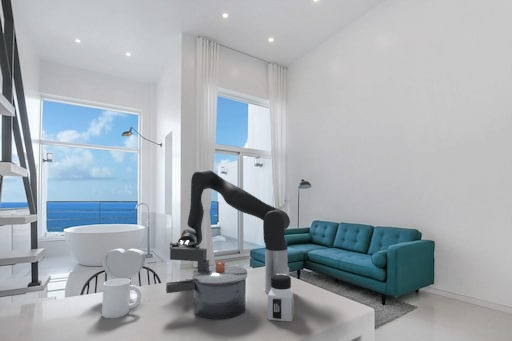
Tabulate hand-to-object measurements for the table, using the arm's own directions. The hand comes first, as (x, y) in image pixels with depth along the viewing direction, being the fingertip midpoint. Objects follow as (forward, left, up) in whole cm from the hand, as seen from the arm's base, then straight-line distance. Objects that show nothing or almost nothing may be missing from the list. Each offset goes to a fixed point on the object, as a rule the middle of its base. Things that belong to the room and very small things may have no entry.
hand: (181, 249), depth 112 cm
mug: (+22, +2, -18) cm, 28 cm away
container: (-17, +38, -18) cm, 45 cm away
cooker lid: (-2, +16, -7) cm, 17 cm away
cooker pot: (-1, +18, -18) cm, 25 cm away
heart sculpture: (+17, -15, -18) cm, 29 cm away
